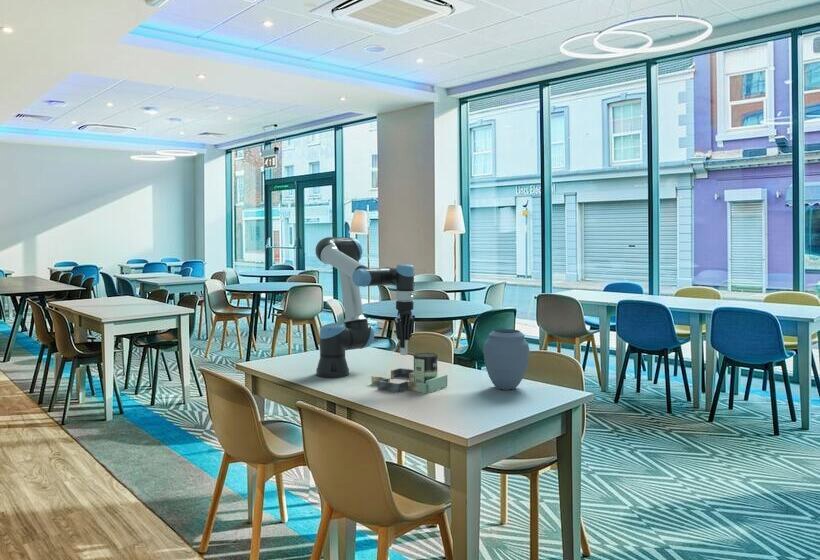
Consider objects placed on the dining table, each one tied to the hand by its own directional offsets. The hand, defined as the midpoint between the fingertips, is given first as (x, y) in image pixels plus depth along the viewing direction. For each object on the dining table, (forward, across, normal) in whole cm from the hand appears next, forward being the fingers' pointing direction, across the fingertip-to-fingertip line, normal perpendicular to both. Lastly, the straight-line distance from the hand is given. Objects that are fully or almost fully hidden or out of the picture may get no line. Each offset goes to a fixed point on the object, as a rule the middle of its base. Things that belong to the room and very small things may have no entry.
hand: (403, 354), depth 284 cm
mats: (+13, 0, +2) cm, 13 cm away
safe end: (+13, 0, -15) cm, 20 cm away
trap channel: (+13, 0, -1) cm, 13 cm away
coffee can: (+13, 0, -11) cm, 17 cm away
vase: (+12, +19, -40) cm, 46 cm away
